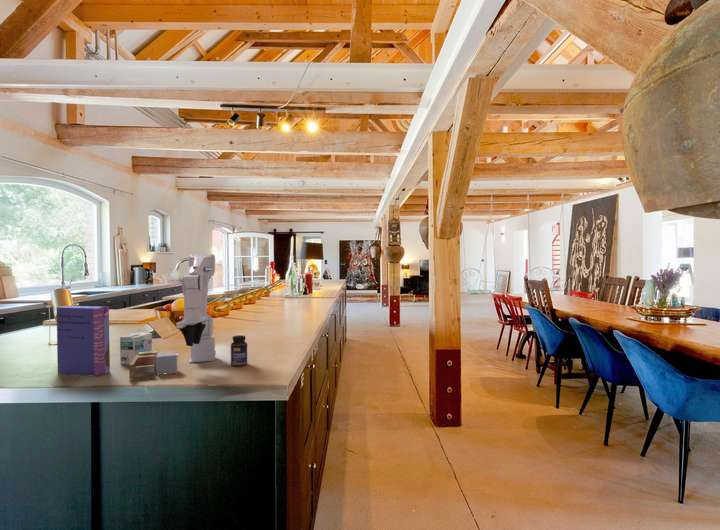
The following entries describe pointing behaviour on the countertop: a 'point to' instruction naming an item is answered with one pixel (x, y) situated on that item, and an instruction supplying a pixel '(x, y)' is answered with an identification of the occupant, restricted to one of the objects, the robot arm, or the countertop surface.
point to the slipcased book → (167, 363)
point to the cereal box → (83, 340)
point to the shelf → (143, 365)
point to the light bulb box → (134, 346)
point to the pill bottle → (239, 351)
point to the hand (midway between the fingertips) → (193, 344)
